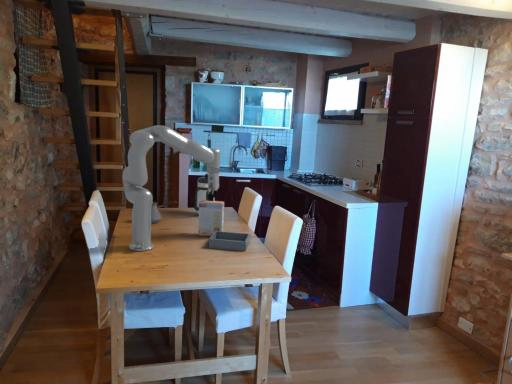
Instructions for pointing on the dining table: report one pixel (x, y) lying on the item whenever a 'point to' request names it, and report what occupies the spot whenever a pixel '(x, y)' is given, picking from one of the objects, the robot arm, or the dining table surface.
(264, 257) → the dining table surface
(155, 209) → the coffee pot
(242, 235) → the tray
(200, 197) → the coffee press
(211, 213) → the cracker box
